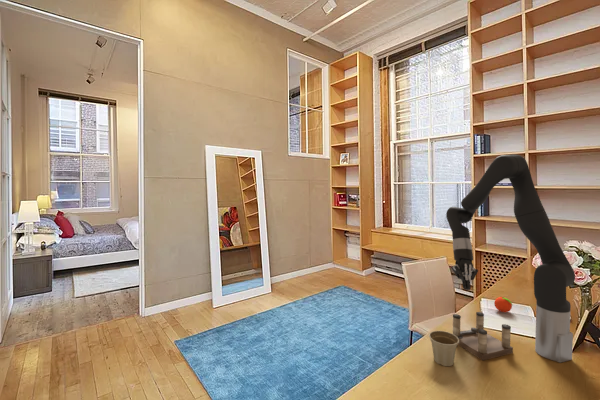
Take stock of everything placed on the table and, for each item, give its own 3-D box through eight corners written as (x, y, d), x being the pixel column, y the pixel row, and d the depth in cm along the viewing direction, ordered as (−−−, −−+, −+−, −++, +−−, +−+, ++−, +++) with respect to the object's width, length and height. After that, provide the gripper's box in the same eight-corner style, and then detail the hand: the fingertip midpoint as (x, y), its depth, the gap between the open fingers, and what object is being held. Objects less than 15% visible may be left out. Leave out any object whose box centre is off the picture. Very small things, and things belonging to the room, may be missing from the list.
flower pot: (446, 373, 98) (447, 347, 97) (423, 358, 106) (423, 334, 106) (464, 364, 102) (465, 339, 102) (440, 350, 111) (440, 328, 110)
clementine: (517, 314, 139) (518, 299, 138) (507, 316, 136) (507, 301, 136) (500, 307, 146) (501, 293, 146) (490, 310, 144) (491, 295, 143)
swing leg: (473, 329, 120) (473, 311, 120) (478, 333, 118) (479, 314, 117) (451, 333, 118) (451, 314, 118) (456, 336, 115) (456, 317, 115)
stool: (512, 352, 108) (513, 327, 108) (482, 360, 104) (482, 333, 104) (478, 334, 122) (479, 311, 121) (450, 340, 118) (450, 316, 117)
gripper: (457, 245, 129) (461, 287, 122) (481, 250, 132) (486, 291, 126) (444, 248, 135) (447, 288, 129) (467, 253, 139) (471, 292, 133)
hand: (467, 289), depth 127 cm, fingers closed
